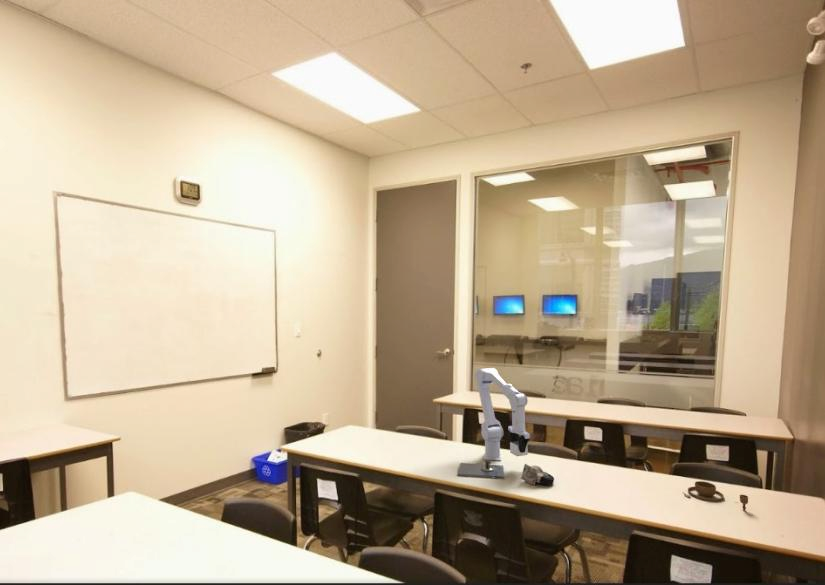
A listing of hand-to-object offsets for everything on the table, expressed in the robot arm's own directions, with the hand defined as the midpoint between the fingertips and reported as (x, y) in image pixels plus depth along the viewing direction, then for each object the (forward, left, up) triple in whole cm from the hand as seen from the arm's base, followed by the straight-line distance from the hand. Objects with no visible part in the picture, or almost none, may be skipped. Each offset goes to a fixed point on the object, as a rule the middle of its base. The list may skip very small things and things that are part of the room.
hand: (518, 450), depth 204 cm
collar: (0, 0, -2) cm, 2 cm away
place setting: (+19, +72, -10) cm, 75 cm away
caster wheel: (+13, +8, -9) cm, 18 cm away
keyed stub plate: (+5, -17, -9) cm, 20 cm away
